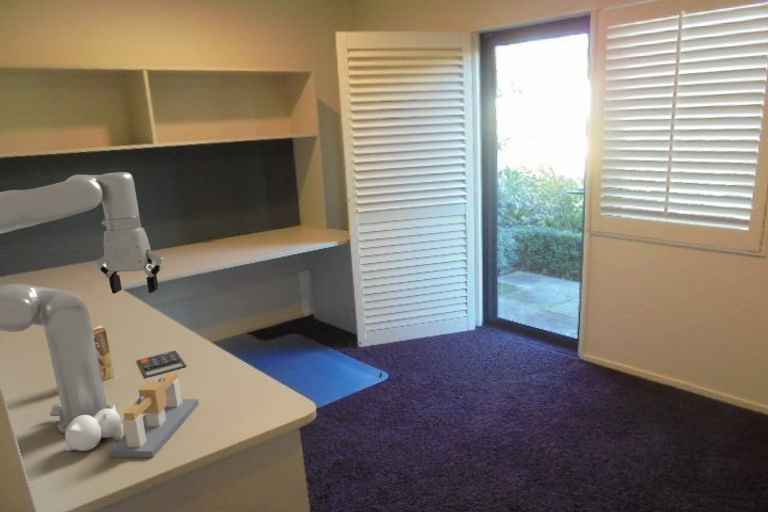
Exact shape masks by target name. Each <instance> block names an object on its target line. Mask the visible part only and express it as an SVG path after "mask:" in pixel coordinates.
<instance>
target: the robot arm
mask: <svg viewBox="0 0 768 512" xmlns="http://www.w3.org/2000/svg"><path fill="white" fill-rule="evenodd" d="M135 187H136V186H135V181H134V178H133V176H132V174H131V173H130V172H127V171H124V172H123V171H121V172H120V171H119V172H109V173H103V174H74V175H71V176H70V177H67V178H66V180H64V181H61V182H56V183H52V184H48V185H44V186H41V187H35V188H29V189H11V190H5V191H4V190H3V191H0V234H1V235H2V234H5V233H10V232H13V231H16V230H20V229H25V228H30V227H33V226H36V225H39V224H45V223H47V222H53V221H56V220H60V219H63V218H68V217H71V216H75V215H79V214H82V213H85V212H88V211H91V210H93V209H95V208H96V207H98V206H99V205H100V204H101V203H102V209H103V214H104V219H102V221H101V225H102V226H105V227H106V230H105V231H104V232H103V254H104V255H103V256H101V257H99V258H98V259H96V260H95V263H96V264H97V266H98V268H99V269H100V271H101V272H102V273H103V274H104V275H105V277H106V279H108V281H109V286H110V289H111V293H112V294H117V293H118V292H120V291H122V282H121V277H120V274H118V273H119V272H122V273H123V272H140V271H143V273H145V274H146V276H147V277H146V283H147V290H148V293H150V294H152V293H155V292H156V291H158V287H159V283H158V274H159V272H160V271H161V269H162V268H163V264H164V260H165V258H164V256H161V255H159V254H157V253H155V252H153V251H152V250H151V246H150V243H149V238H148V236H147V233H146V231H145V228H144V227H142V226H141V225H142V223H141V220H140V219H141V218H140V212H139V206H138V205H139V204H138V199H137V193H136V188H135ZM153 261H155V265H153ZM32 325H35V326H43V330H44V334H45V339H46V343H47V346H48V347H47V348H48V350H49V351H48V352H49V356H50V360H51V364H52V370H53V373H54V378H55V382H56V387H57V394H58V396H59V401H60V403H54V404H53V405H52V407H51V411H50V413H49V415H50V417H59V421H58V423H57V429H58V431H59V432H60V433H61V434H64V435H65V433H66V429H67V427H68V425H69V424H70V423H71V421H72V420H74V419H75V418H76V417H78V416H81V415H89V416H92V417H93V418H94V417H95V415H96V414H97V413H98V412H99V411H100V410H102V409H111V407H112V405H109V404H107V399H106V395H105V393H106V392H105V389H104V383H103V381H102V378H101V373H100V367H99V362H98V357H97V353H96V347H95V342H94V335H93V328H94V327H93V322H92V318H91V314H90V311H89V309H88V307H87V304H86V302H85V301H84V299H83V297H81V296H80V295H79V294H77V293H75V292H72V291H71V290H65V289H58V288H52V287H45V286H40V285H38V286H37V285H31V284H24V283H9V284H5V285H3V286H0V332H8V333H19V332H22V331H25V330H27V329H29V328H30V327H31V326H32Z"/></svg>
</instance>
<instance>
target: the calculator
mask: <svg viewBox="0 0 768 512" xmlns="http://www.w3.org/2000/svg"><path fill="white" fill-rule="evenodd" d="M136 363H137V365H138V367H139V369H140V370H141V373H142V375H143V377H144V378H145V379H148V377H149V378H152V377H156V376H160V375H163V374H167V373H168V372H175V371H178V370H182V369H185V367H186V368H187V364H186V363H185V361H183V359H182V358H181V356H180V355H179V353H178V352H177V351H176V350H171V351H168V352H164V353H159V354H156V355H153V356H148V357H145V358H140V359H137V360H136ZM181 368H182V369H181ZM174 370H175V371H174Z"/></svg>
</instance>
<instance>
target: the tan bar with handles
mask: <svg viewBox="0 0 768 512" xmlns="http://www.w3.org/2000/svg"><path fill="white" fill-rule="evenodd" d="M178 377H179V376H178V372H177V371H171V372H167V373H165V374H164V375H163V376H162V377H160V378H158V381H147V382H145V384H143V385H142V386H141V387H140V388H139V389H138V392H139V393H138V395H139V397H138V399H137V400H135V402H134V403H133V404H132V405H130V406H129V408H128V409H126V410H125V411H124V412H123V416H124V417H123V418H124V419H125V420H135V419H136V418H137V417H138V416H140V415H143V414H146V413H160V412H161V411H162V410H163V409H164V408H165V407H166V406H167V400H166V394H165V391H166V389H167V388H168V387H169V386H170V385H171V384H172V383H173V382H174V381H175V380H176V379H179V378H178ZM124 419H123V420H124Z"/></svg>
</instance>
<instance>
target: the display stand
mask: <svg viewBox="0 0 768 512" xmlns="http://www.w3.org/2000/svg"><path fill="white" fill-rule="evenodd" d="M165 394H166V400H167V406H166V407H165V408H164V409H163V410H162V411H161V412H160V413H145V414H144V416H143V414H141V415H140V416H138V417H137V418H136V419H135V420H125V419H123V420H122V425H123V428H124V436H123V437H122V438H121V439H120V438H119V440H118V441H117V442H116V443H115V445H113V446H112V447H111V448H110V449H109V450H108V452H109V457H111V458H154V457H155V456H156V455H157V454H158V453H159V452H160V451H161V449H163V447H164V446H165V445H166V443H167V442H168V441H169V440H170V439H171V437H172V436H173V435H174V434H175V433H176V431H177V430H178V429H180V427H181V426H182V425H183V423H184V422H185V421H186V420H187V419H188V417H190V416H191V414H192V413H193V411H195V410H196V408H197V407H198V406H199V404H200V403H199V399H198V398H182V397H183V396H182V392H181V385H180V380H179V378H177V379H176V380H175V381H174V382H173V383H172V384H171V385H170V386H169V387H168V388H167V389H166V391H165Z"/></svg>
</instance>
